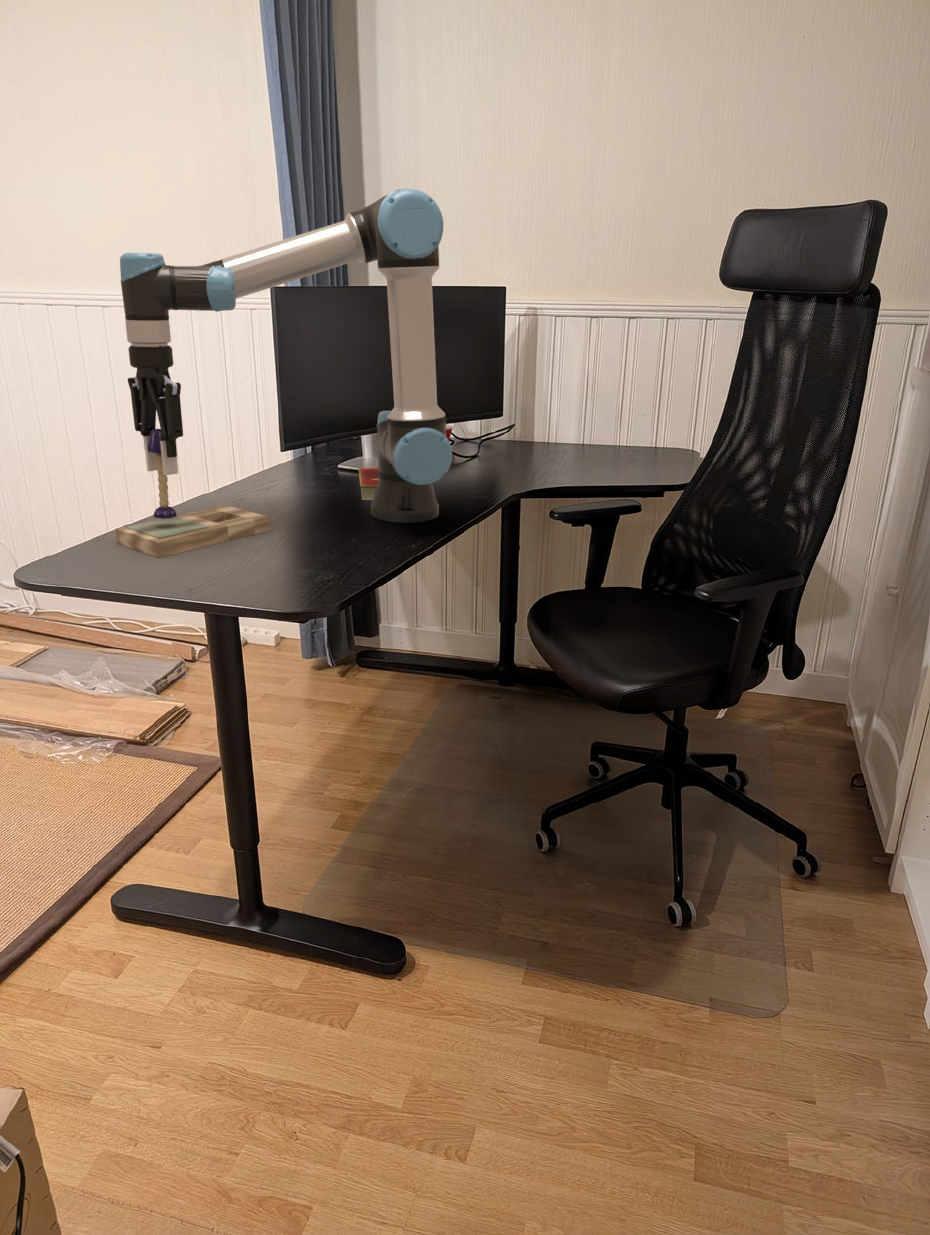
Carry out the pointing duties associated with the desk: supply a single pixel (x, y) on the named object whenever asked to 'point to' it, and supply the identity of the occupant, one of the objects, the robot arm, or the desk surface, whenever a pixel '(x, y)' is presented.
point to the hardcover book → (368, 482)
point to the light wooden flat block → (191, 530)
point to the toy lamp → (160, 477)
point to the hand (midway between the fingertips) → (162, 471)
